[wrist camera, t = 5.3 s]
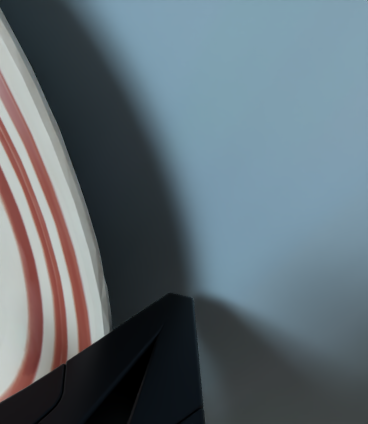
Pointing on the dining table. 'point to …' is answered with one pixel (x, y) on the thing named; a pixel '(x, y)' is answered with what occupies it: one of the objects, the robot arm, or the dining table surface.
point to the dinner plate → (41, 236)
